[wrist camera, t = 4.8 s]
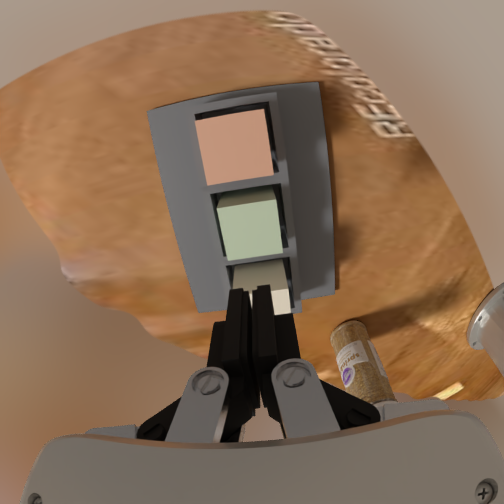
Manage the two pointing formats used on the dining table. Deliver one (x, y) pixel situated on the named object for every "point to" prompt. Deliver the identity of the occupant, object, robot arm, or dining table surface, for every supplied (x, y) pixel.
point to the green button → (250, 222)
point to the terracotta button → (234, 147)
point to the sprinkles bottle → (361, 364)
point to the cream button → (265, 282)
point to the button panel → (283, 183)
